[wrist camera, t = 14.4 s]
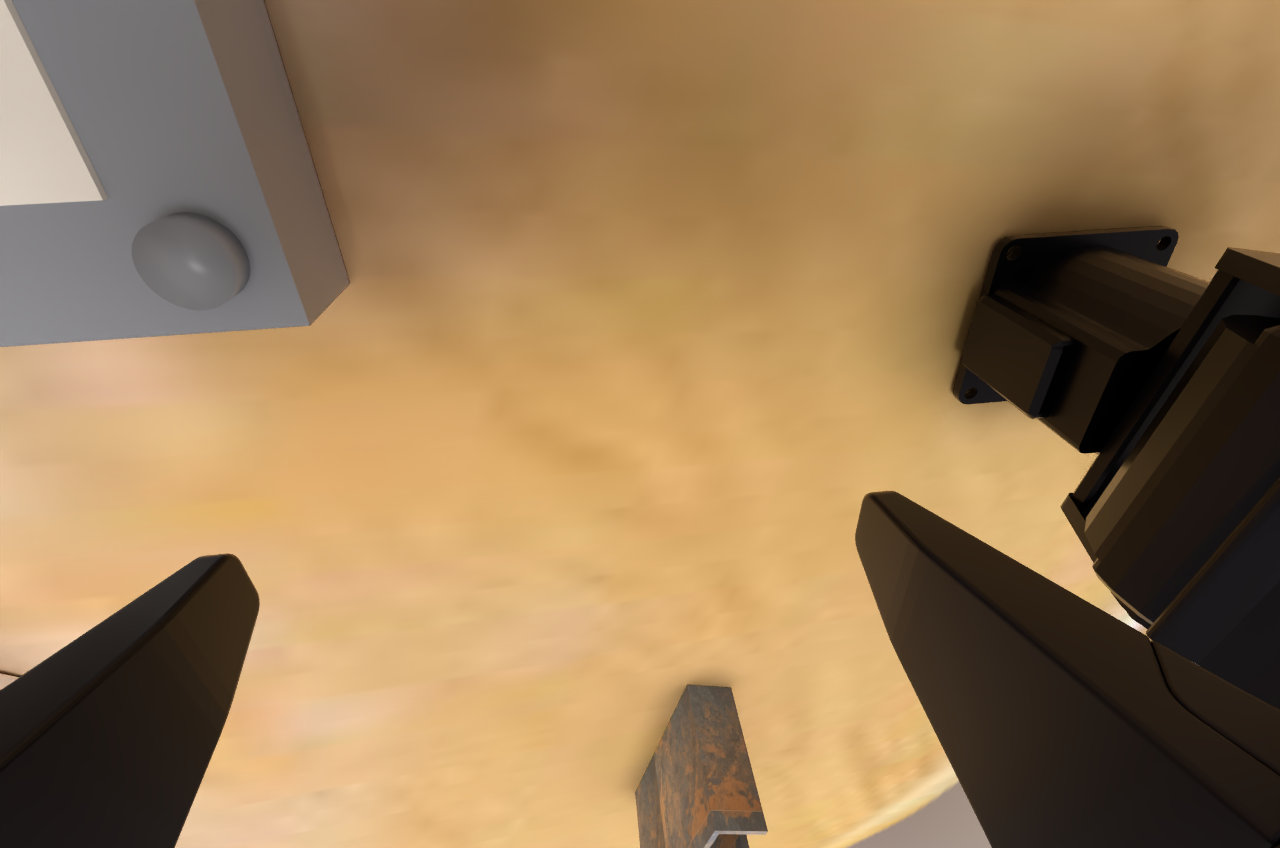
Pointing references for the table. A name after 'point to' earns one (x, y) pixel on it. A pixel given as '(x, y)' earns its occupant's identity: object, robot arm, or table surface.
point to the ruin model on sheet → (700, 778)
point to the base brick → (154, 175)
